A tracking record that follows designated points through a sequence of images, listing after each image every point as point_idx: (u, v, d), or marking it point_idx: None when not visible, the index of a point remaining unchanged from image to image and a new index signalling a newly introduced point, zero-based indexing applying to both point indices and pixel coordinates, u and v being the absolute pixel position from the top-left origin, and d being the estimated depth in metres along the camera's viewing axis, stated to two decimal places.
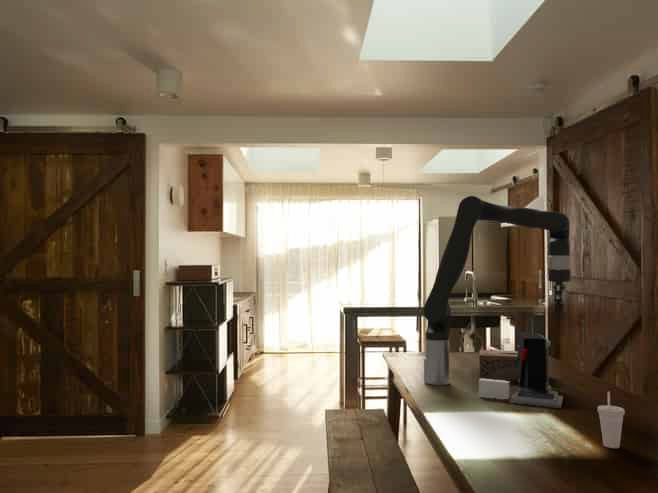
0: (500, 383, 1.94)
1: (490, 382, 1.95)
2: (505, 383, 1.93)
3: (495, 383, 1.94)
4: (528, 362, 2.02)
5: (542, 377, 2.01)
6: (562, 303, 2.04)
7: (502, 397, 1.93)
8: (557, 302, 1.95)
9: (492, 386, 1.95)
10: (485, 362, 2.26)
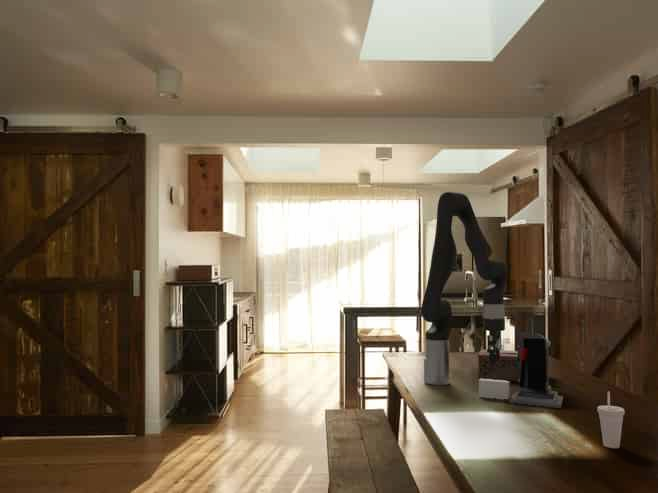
0: (500, 383, 1.94)
1: (490, 382, 1.95)
2: (505, 383, 1.93)
3: (495, 383, 1.94)
4: (528, 362, 2.02)
5: (541, 377, 2.01)
6: (498, 351, 2.00)
7: (502, 397, 1.93)
8: (490, 353, 1.91)
9: (492, 386, 1.95)
10: (483, 361, 2.27)
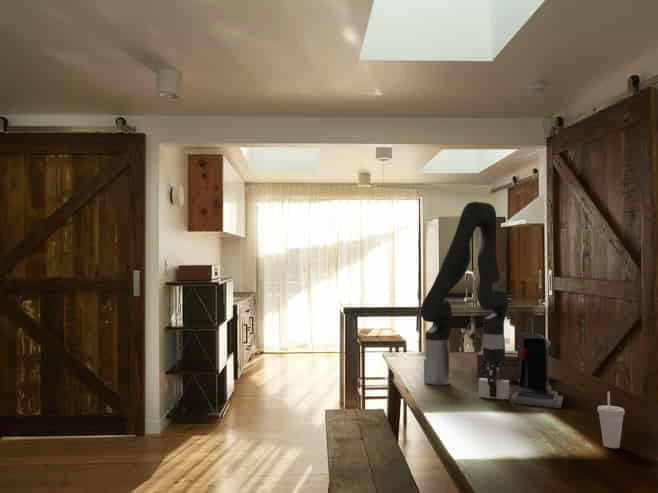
0: (500, 383, 1.94)
1: None
2: (505, 383, 1.93)
3: None
4: (528, 362, 2.02)
5: (541, 377, 2.01)
6: None
7: (502, 397, 1.93)
8: (491, 385, 1.93)
9: None
10: (482, 361, 2.28)
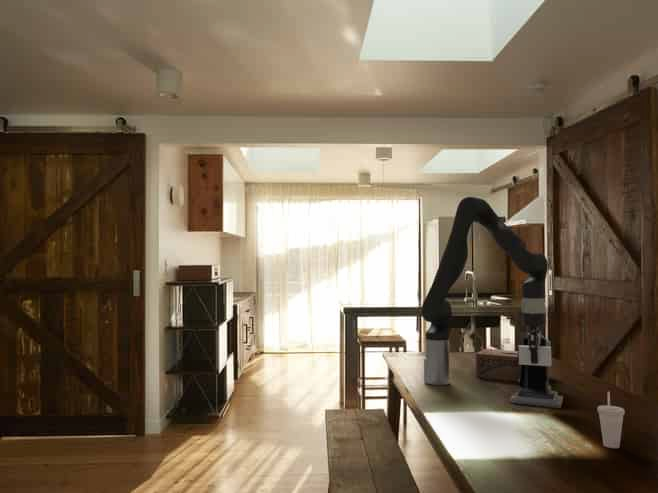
0: (541, 349, 1.85)
1: None
2: (547, 348, 1.85)
3: None
4: None
5: (541, 377, 2.01)
6: None
7: (544, 363, 1.85)
8: (532, 351, 1.85)
9: None
10: (481, 360, 2.29)
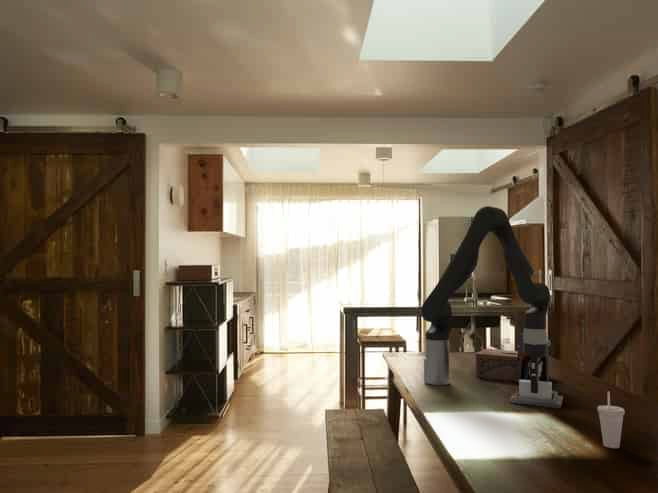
0: (542, 384, 1.85)
1: None
2: (547, 384, 1.85)
3: None
4: (528, 362, 2.02)
5: (541, 377, 2.01)
6: (538, 378, 1.91)
7: None
8: (532, 381, 1.83)
9: None
10: (481, 360, 2.29)
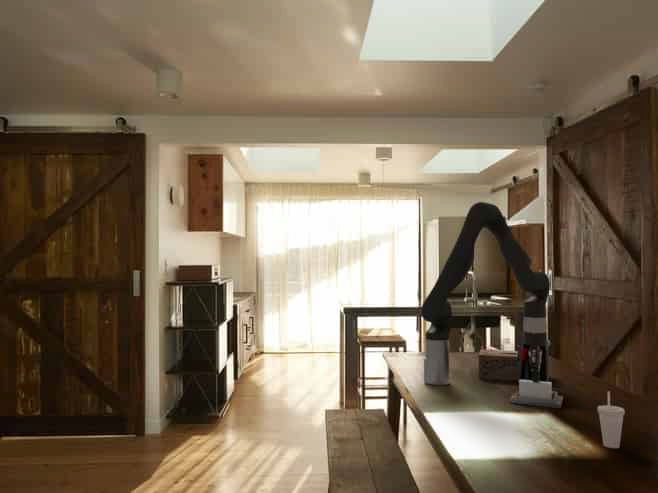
0: (542, 384, 1.85)
1: (531, 383, 1.87)
2: (547, 384, 1.85)
3: (536, 385, 1.86)
4: (528, 362, 2.02)
5: (541, 377, 2.01)
6: None
7: None
8: (533, 370, 1.86)
9: (533, 388, 1.86)
10: (484, 361, 2.27)
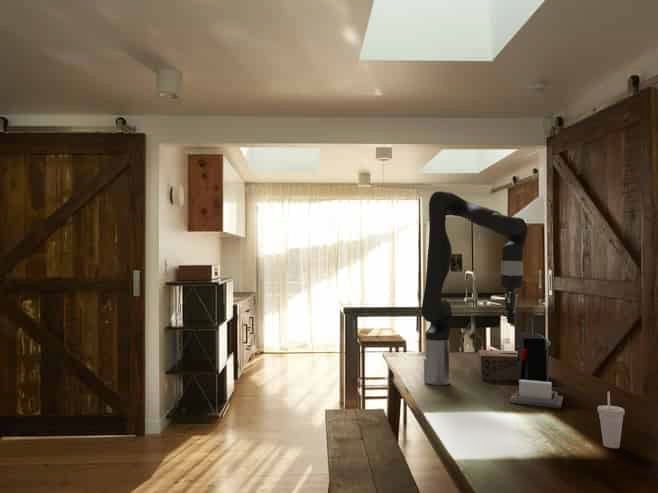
0: (542, 384, 1.85)
1: (531, 383, 1.87)
2: (547, 384, 1.85)
3: (536, 385, 1.86)
4: (528, 362, 2.02)
5: (541, 377, 2.01)
6: None
7: None
8: (509, 311, 1.93)
9: (533, 388, 1.86)
10: (486, 362, 2.25)
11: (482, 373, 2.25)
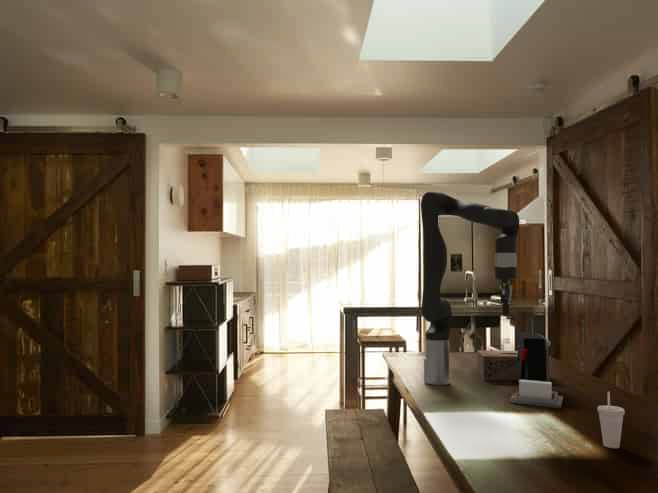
0: (542, 384, 1.85)
1: (531, 383, 1.87)
2: (547, 384, 1.85)
3: (536, 385, 1.86)
4: (528, 362, 2.02)
5: (541, 377, 2.01)
6: None
7: None
8: (504, 303, 1.95)
9: (533, 388, 1.86)
10: (489, 363, 2.24)
11: (484, 374, 2.24)
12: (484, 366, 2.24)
